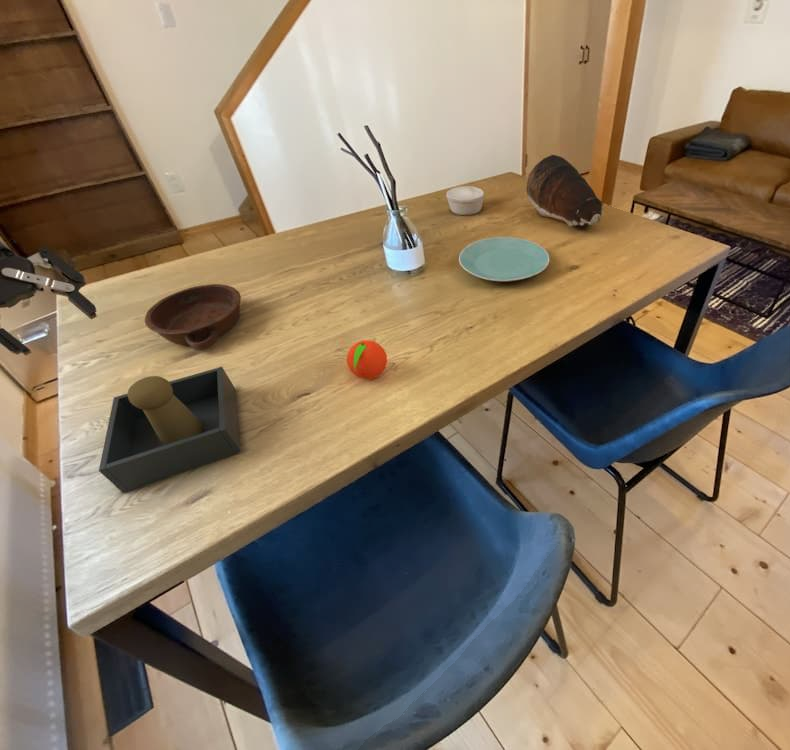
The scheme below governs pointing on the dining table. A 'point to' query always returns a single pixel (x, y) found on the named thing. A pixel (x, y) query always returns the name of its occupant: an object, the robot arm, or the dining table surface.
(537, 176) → the taro root
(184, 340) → the dish
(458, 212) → the ramekin
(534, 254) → the plate
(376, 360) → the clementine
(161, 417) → the cork
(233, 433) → the bin
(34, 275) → the robot arm
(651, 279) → the dining table surface
